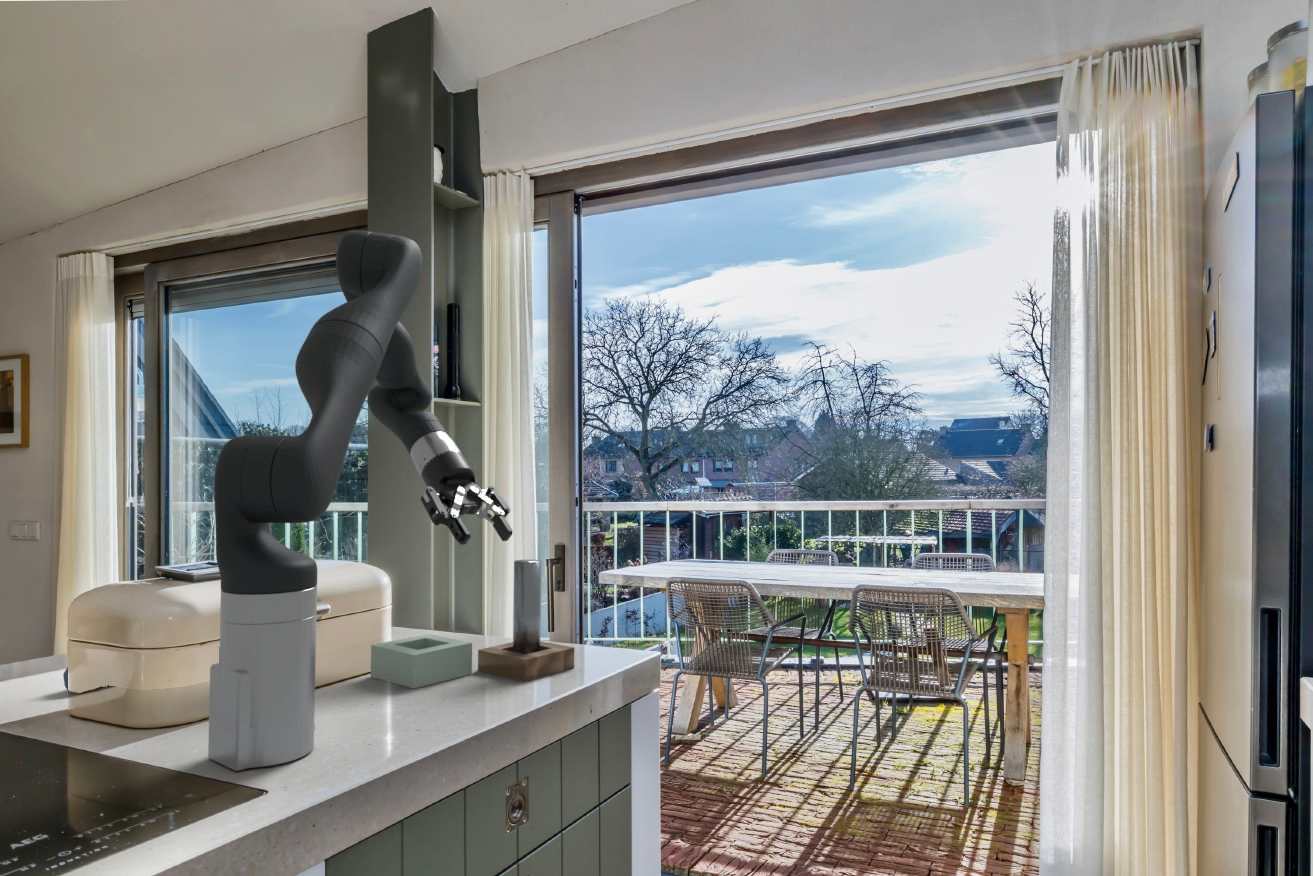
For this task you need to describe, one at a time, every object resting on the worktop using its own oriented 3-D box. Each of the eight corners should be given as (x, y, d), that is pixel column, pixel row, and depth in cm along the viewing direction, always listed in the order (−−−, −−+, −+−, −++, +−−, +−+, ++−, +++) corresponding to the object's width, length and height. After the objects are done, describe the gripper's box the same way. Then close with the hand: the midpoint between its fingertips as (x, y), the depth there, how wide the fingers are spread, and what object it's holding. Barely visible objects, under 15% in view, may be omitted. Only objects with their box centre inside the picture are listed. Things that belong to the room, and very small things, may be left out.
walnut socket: (525, 681, 116) (525, 659, 116) (477, 670, 122) (478, 649, 122) (574, 667, 124) (574, 647, 124) (527, 657, 130) (527, 638, 130)
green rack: (413, 688, 112) (414, 655, 112) (370, 676, 118) (371, 644, 118) (471, 674, 120) (472, 642, 120) (428, 663, 126) (428, 633, 126)
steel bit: (525, 673, 120) (527, 563, 121) (507, 669, 123) (508, 561, 123) (545, 668, 123) (546, 560, 124) (526, 664, 126) (528, 558, 126)
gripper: (416, 448, 129) (463, 525, 122) (486, 450, 140) (533, 520, 133) (394, 481, 132) (439, 559, 125) (465, 480, 143) (510, 551, 136)
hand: (487, 539), depth 129 cm, fingers open, 8 cm apart
